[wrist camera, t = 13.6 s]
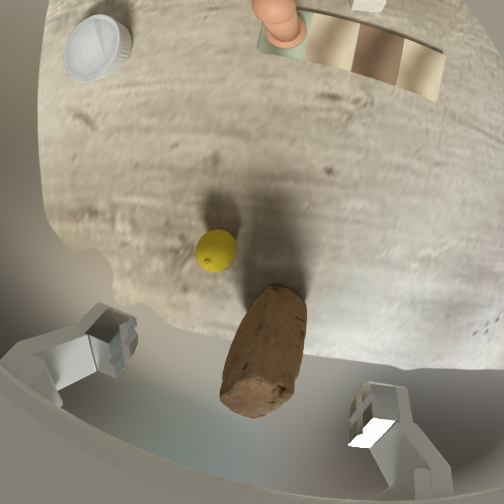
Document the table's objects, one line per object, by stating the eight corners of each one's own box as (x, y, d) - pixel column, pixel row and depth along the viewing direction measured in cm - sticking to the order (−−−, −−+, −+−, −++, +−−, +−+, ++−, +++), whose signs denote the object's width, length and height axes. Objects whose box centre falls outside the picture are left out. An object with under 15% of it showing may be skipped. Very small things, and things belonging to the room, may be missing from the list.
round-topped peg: (309, 17, 30) (304, -20, 19) (302, 52, 32) (295, 26, 21) (269, 11, 30) (248, -26, 19) (262, 45, 33) (237, 19, 22)
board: (443, 56, 28) (445, 55, 28) (435, 101, 31) (437, 101, 31) (268, 7, 31) (267, 5, 30) (258, 52, 34) (257, 51, 33)
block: (277, 273, 47) (250, 369, 30) (314, 301, 48) (304, 402, 31) (237, 313, 53) (199, 405, 35) (271, 337, 53) (246, 432, 36)
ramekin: (151, 35, 35) (132, 29, 30) (113, 94, 40) (92, 95, 35) (107, 10, 33) (87, 4, 29) (74, 65, 38) (53, 65, 34)
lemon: (243, 256, 47) (229, 283, 40) (209, 254, 49) (189, 280, 42) (241, 222, 45) (226, 245, 38) (205, 220, 46) (184, 242, 39)
